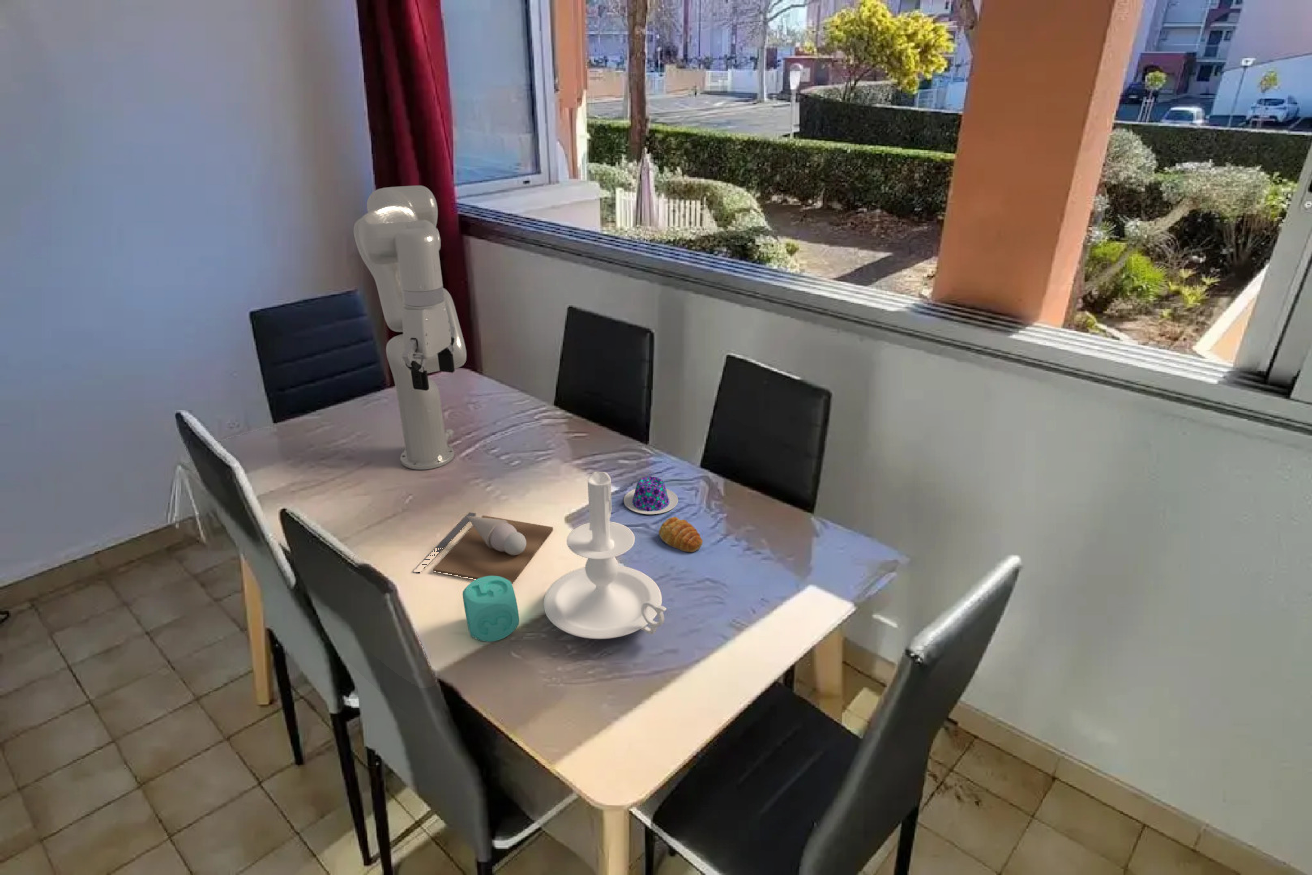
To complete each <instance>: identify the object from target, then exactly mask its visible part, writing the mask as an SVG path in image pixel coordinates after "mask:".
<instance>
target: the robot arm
mask: <svg viewBox="0 0 1312 875" xmlns="http://www.w3.org/2000/svg"><path fill="white" fill-rule="evenodd" d="M366 209H367V212H366V213H365V214H363V216H362V217H361V218H359V219H358V220H356V221H355V223H354V226H353V235H354V240H355V244H356V247H357V250H358V253H359V256H361V259H362V261H363V262H364V264H365V266H366V267H367V269H368V270H369V272H370V274H371V276H372V277H373V279H374V281H375V285H376V288H377V293H378V297H379V301H380V307H381V308H382V313H383V314H382V315H383V316H384V317H383V318H384V321H385V322H386V325H387V327H388V328H389V329H390V330H391V331H393V332H396V333H402V334H398V335H396V336H393V337H392V338H391V339H389V340H388V341H387V343H386V348H385V352H386V358H387V361H388V362H387V363H388V364H389V367H390V370H391V373H392V378H393V381H394V382H393V383H394V386H395V390H396V391H395V392H396V396H397V402H398V408H399V409H398V410H399V415H400V420H401V421H400V422H401V428H402V434H403V440H404V448H405V449H404V451H403V452H401V454H400V463H401V465H402V466H404V467H406V468H409V469H412V470H422V471H423V470H431V469H432V470H433V469H436V468H439V467H442V466H444V465H446V464H448V463H449V462H451V461H452V460H453V459H454V456H455V451H454V448H453V447H452V446H451V445H449V444H448V441H449V439H450V438H451V437H452V436H454V431H453V429H452V428H447V429H446V430H445V424H444V417H443V412H442V411H443V410H442V401H441V394H440V393H441V392H440V388H439V387H438V386H437V384H436V383H435V381H433V380H432V378H430V377H429V375H428V374H430V373H436V372H443V373H451V374H452V373H454V372H455V371H456V369H458V368H461V367H463V366H464V364H465V363H466V361H467V349H466V343H465V339H464V337H463V336H464V335H463V332H462V328H461V325H460V322H459V318H458V313H457V310H456V306H455V302H454V300H453V298H452V295H451V293H449V291H448V290H447V289H446V288H444V284H443V275H442V269H441V260H440V250H441V246H442V245H441V241H442V239H441V236H440V232H439V230H438V227H437V224H438V219H439V218H438V215H439V213H438V212H439V210H438V203H437V200H436V197H435V195H434V194H433V192H432V191H431V190H430V189H429V188H428V187H426V186H424V185H406V186H405V185H404V186H390V187H382V188H378V189H375V190H374V191H373V192H372V193H371V194H370V195H369V197H368V198H367V202H366Z"/></svg>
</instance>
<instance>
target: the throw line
mask: <svg viewBox="0 0 1312 875" xmlns="http://www.w3.org/2000/svg"><path fill="white" fill-rule="evenodd" d="M476 515H477V513H475V512H468V514H466V515H465V516H464V518H462V520H461V521H459V523H458V524H457V525H456V526H454V528H453V529H452V530H451V531H450V532H449V533H448V534H447V535H446V536H445V537H444V538H443V539H442V540H441V541H440V542H439V543H438V544H437V545H436V546H435V548H437V551H436V552H440V551H441V550H442V548H444V547H445V546H446V545H447V544H448V543H449V542H450V541H452V540H453V539H455V537H456V536H458V534H459V533H460V532H461V531H462V530H463V529H464V528H465V527H466V526H467V525H466V524H467V523H468V522H469V523H470V520H469V519H468V518H467V516H472V517H476ZM469 523H468V524H469ZM464 526H465V527H464ZM463 527H464V528H463ZM462 528H463V529H462ZM460 530H461V531H460ZM451 539H452V540H451ZM450 543H451V542H450ZM450 543H449V544H450ZM449 544H448V545H449ZM448 545H447V546H448ZM447 546H446V547H447ZM446 547H445V548H446ZM435 548H433V550H434V552H435ZM438 548H439V550H438ZM440 548H441V549H440ZM445 548H444V549H445ZM433 550H431V552H433ZM442 551H443V550H442ZM442 551H441V552H442ZM441 552H440V553H441ZM427 556H429V554H428V555H427ZM430 556H431V555H430ZM432 556H433V555H432ZM434 556H435V554H434ZM423 560H430V559H425V558H424V559H423ZM422 565H427V564H422Z"/></svg>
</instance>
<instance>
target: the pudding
mask: <svg viewBox="0 0 1312 875" xmlns="http://www.w3.org/2000/svg"><path fill="white" fill-rule="evenodd" d="M678 502H679V499H678V496H677V494H676V493H675V492H674V491H672V490H670V489H669V488H667V487H666V484H665V482H664V480H663V479H661V478H659V477H657V476H652V475H651V476H646V477H641V478H640V479H639V481H638V482H637V483H636V487H635V488H633V489H632V490H629V491H628V492H626V494H625V495H624V497H623V503H624V505H625V507H626V508H627V509H629V510H631V511H632V512H636V513H638V514H645V515H655V514H656V515H657V514H659V515H660V514H663V513H667V512H669V511H671V510H673V509H674V508H675V507H676V506H677V504H678Z"/></svg>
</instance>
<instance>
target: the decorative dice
mask: <svg viewBox="0 0 1312 875" xmlns="http://www.w3.org/2000/svg"><path fill="white" fill-rule="evenodd" d="M462 600H463V607H464V608H463V609H464V613H465V619H466V624H467V628H468V632H469V635H470V637H472V638H473V639H475V640H478V641H481V642H489V643H490V642H491V643H492V642H498V641H500V640H503V639H505V638H506V637H508V636H510V635H511V634H512V633H513V632H514V631H516V629H517V628H518V626H519V623H520V616H519V609H518V608H519V607H518V603H517V598H516V593H515V590H514V586H513V584H512V583H511V582H510V581H509V580H507V579H505V578H503V577H499V576H485V577H481V578H478V579H476V580H472V581H471V582H469V584H468V585H467V586H466V587H465V588H464V589H463V591H462Z"/></svg>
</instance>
